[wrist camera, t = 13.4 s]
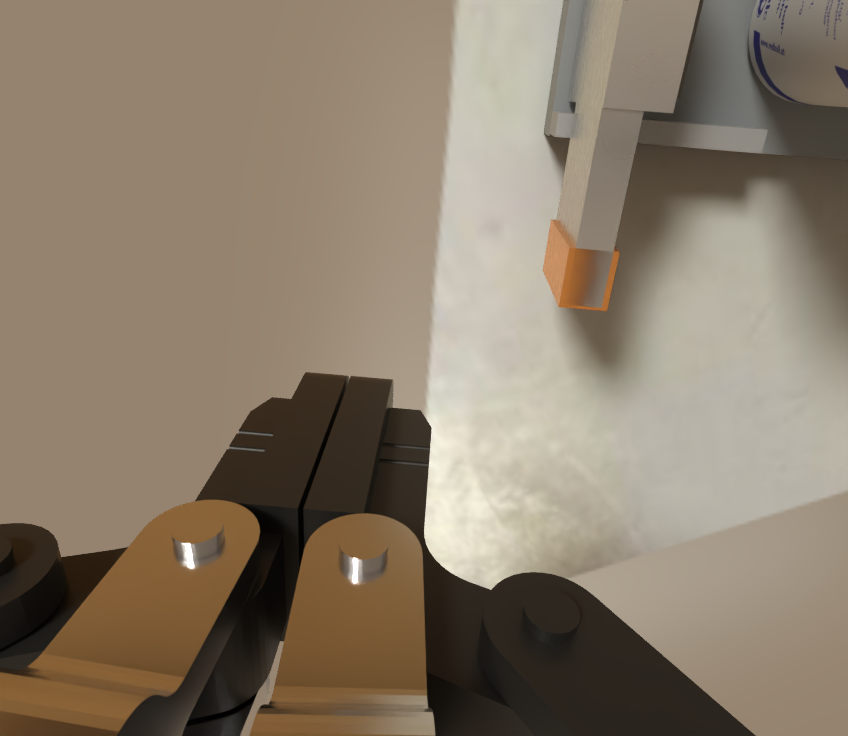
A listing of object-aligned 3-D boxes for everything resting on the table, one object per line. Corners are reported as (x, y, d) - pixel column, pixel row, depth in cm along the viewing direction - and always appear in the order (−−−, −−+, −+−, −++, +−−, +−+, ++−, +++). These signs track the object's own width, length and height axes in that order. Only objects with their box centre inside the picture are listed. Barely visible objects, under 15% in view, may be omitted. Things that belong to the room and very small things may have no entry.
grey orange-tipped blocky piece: (673, -108, 19) (754, -179, 14) (597, 263, 25) (634, 314, 20) (597, -113, 20) (649, -186, 14) (537, 258, 25) (559, 308, 20)
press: (1056, -112, 20) (1354, -208, 13) (936, 164, 24) (1121, 197, 17) (585, -146, 20) (646, -257, 14) (543, 132, 24) (575, 153, 18)
